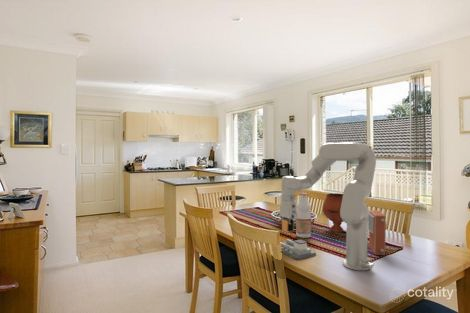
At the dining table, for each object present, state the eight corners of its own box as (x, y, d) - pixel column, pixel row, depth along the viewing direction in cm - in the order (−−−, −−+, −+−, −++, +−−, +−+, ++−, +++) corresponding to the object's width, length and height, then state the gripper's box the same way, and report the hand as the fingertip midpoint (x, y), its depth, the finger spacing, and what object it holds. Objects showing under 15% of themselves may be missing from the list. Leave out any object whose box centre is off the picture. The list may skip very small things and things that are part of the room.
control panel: (379, 246, 174) (387, 256, 160) (366, 246, 176) (373, 255, 161) (380, 210, 173) (387, 216, 159) (367, 209, 175) (373, 215, 160)
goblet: (354, 229, 212) (354, 193, 211) (348, 235, 195) (348, 197, 194) (326, 225, 222) (326, 191, 221) (319, 231, 205) (319, 195, 205)
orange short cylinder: (293, 231, 170) (293, 218, 170) (286, 232, 168) (287, 219, 168) (288, 229, 175) (288, 217, 174) (282, 230, 172) (282, 218, 172)
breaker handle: (306, 251, 161) (306, 241, 161) (299, 253, 159) (299, 243, 159) (300, 249, 166) (300, 239, 165) (293, 250, 163) (293, 240, 163)
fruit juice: (293, 235, 197) (293, 192, 196) (303, 233, 202) (303, 191, 201) (303, 239, 189) (303, 194, 188) (314, 236, 194) (314, 193, 193)
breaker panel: (315, 255, 161) (315, 248, 161) (296, 259, 155) (296, 253, 155) (289, 243, 180) (289, 237, 180) (272, 247, 174) (272, 241, 174)
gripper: (303, 199, 165) (302, 232, 166) (284, 195, 180) (283, 225, 181) (292, 200, 161) (291, 234, 162) (273, 196, 176) (273, 226, 177)
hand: (287, 229), depth 171 cm, fingers closed on orange short cylinder, 4 cm apart
